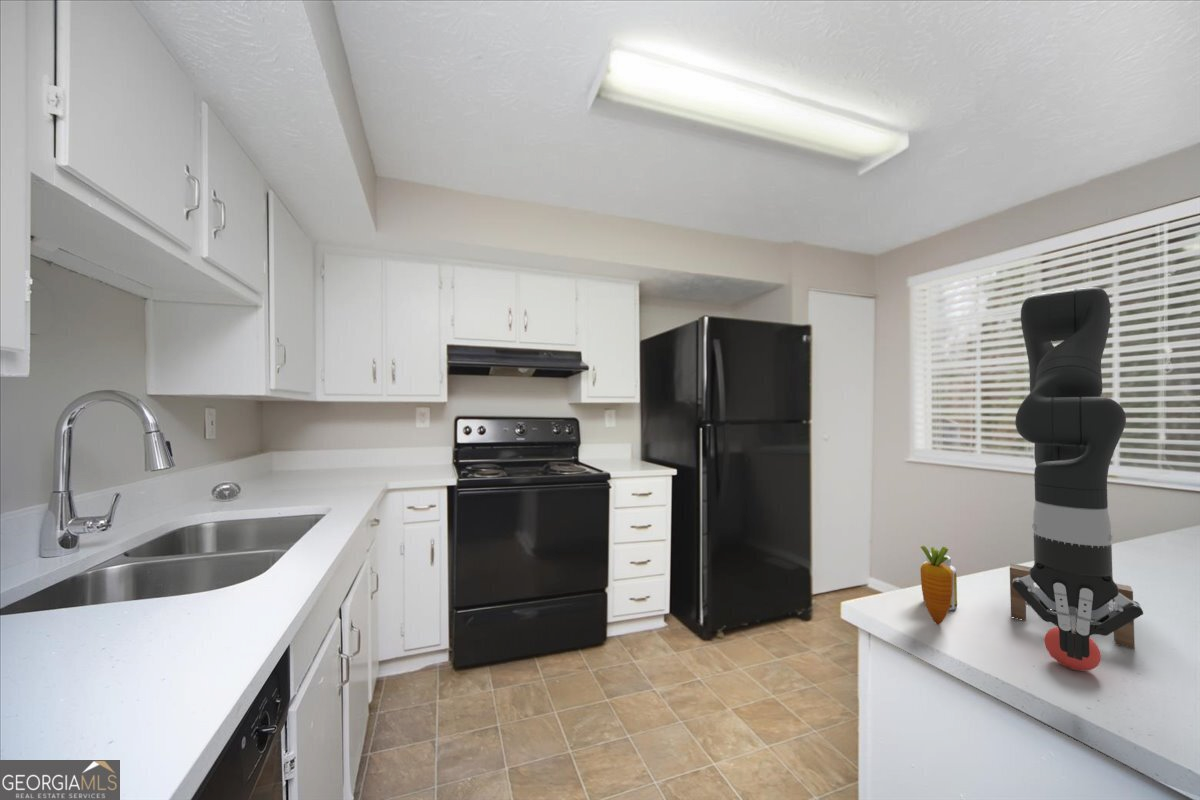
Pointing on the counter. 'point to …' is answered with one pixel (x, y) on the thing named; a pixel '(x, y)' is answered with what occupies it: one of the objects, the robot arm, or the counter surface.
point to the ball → (1061, 656)
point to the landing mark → (1072, 610)
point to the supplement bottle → (954, 591)
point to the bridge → (1018, 606)
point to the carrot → (936, 584)
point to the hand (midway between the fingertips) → (1074, 656)
